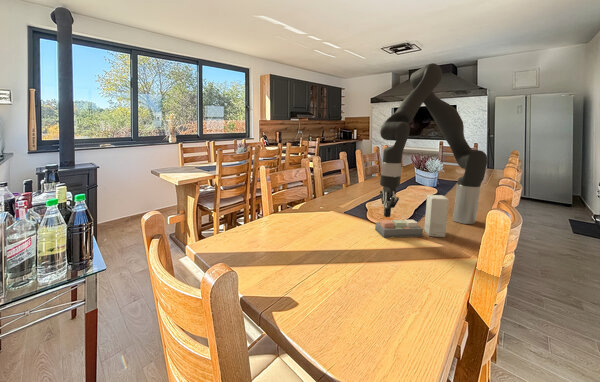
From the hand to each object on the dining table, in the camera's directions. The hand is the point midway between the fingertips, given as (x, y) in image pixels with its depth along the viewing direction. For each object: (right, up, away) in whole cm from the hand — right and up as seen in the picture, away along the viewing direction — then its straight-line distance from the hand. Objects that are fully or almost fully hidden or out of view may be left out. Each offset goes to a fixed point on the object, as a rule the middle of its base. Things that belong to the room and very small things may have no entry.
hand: (386, 216), depth 116 cm
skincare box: (+20, -7, +2) cm, 21 cm away
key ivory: (+10, -4, +2) cm, 11 cm away
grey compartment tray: (+5, -7, +2) cm, 9 cm away
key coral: (0, -4, +1) cm, 4 cm away
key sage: (+5, -4, +1) cm, 7 cm away
